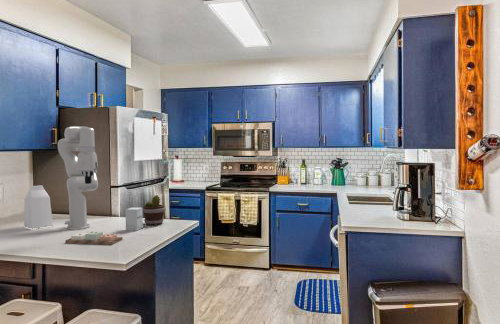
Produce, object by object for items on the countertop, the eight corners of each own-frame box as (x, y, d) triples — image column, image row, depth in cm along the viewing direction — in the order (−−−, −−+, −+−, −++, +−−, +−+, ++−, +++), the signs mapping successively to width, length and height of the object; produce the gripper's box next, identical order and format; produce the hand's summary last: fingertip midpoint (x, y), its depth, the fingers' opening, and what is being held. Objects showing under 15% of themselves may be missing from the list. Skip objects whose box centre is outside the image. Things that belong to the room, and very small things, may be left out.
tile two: (85, 239, 182) (85, 233, 182) (92, 237, 188) (92, 231, 188) (96, 240, 181) (95, 234, 181) (102, 237, 187) (102, 231, 187)
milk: (31, 230, 214) (30, 187, 213) (24, 227, 221) (22, 186, 220) (52, 226, 223) (51, 185, 222) (44, 224, 230) (43, 184, 229)
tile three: (99, 242, 181) (99, 236, 181) (106, 239, 187) (106, 233, 187) (110, 242, 180) (110, 236, 180) (116, 239, 186) (116, 233, 186)
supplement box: (136, 231, 208) (136, 209, 207) (125, 230, 209) (124, 209, 209) (143, 228, 215) (142, 207, 214) (132, 227, 216) (131, 207, 216)
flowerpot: (138, 223, 228) (137, 192, 227) (161, 220, 237) (160, 190, 236) (146, 227, 216) (145, 194, 216) (170, 224, 225) (169, 192, 225)
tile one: (71, 241, 184) (71, 235, 183) (78, 238, 189) (78, 232, 189) (81, 241, 182) (81, 235, 182) (89, 239, 188) (89, 233, 188)
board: (65, 243, 182) (65, 240, 182) (78, 238, 192) (77, 235, 192) (112, 244, 177) (111, 241, 177) (122, 239, 187) (122, 237, 187)
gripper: (70, 150, 193) (71, 184, 194) (95, 150, 190) (96, 184, 191) (79, 150, 200) (80, 182, 201) (103, 150, 198) (104, 182, 199)
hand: (88, 183), depth 196 cm, fingers closed
